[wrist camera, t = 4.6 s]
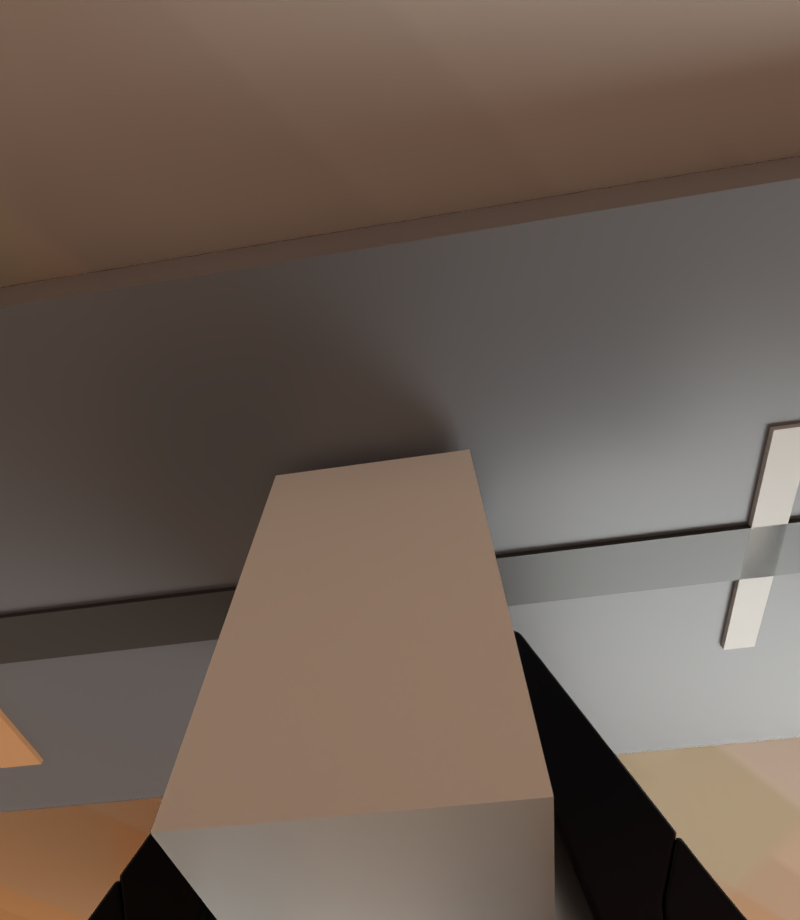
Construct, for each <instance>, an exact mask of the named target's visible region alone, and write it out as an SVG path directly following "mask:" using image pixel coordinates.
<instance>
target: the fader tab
mask: <svg viewBox="0 0 800 920" xmlns="http://www.w3.org/2000/svg"><path fill="white" fill-rule="evenodd" d="M151 834H152V836H153V837H154V838H155V840H156V841H157V842H158V844H159V845H160V846H161V847H162V849H163V850H164V851H165V853H166V854H167V855H168V857H169V858H170V859H171V860H172V862H173V863H174V864H175V866H176V867H177V868H178V870H179V871H180V872H181V873H182V875H183V876H184V877H185V879H186V880H187V881H188V883H189V884H190V885H191V886H192V888H193V889H194V890H195V892H196V893H197V894H198V896H199V897H200V898H201V900H202V901H203V902H204V903H205V905H206V906H207V907H208V909H209V910H210V911H211V913H212V914H213V915H214V916H215V918H216V919H217V920H555V873H554V796H553V791H552V787H551V783H550V779H549V775H548V771H547V767H546V763H545V758H544V754H543V750H542V746H541V742H540V738H539V734H538V730H537V725H536V721H535V717H534V713H533V709H532V705H531V701H530V697H529V692H528V688H527V684H526V680H525V676H524V672H523V668H522V664H521V660H520V655H519V651H518V647H517V643H516V639H515V635H514V631H513V627H512V622H511V618H510V614H509V610H508V606H507V602H506V598H505V594H504V589H503V585H502V581H501V577H500V573H499V569H498V565H497V561H496V556H495V552H494V548H493V544H492V540H491V536H490V532H489V528H488V523H487V519H486V515H485V511H484V507H483V503H482V499H481V495H480V490H479V486H478V482H477V478H476V474H475V470H474V466H473V462H472V457H471V453H470V449H469V450H462V451H454V452H447V453H439V454H432V455H424V456H417V457H410V458H402V459H395V460H387V461H380V462H372V463H365V464H357V465H350V466H343V467H335V468H328V469H320V470H313V471H305V472H298V473H291V474H283V475H276V476H275V479H274V482H273V485H272V488H271V491H270V493H269V496H268V499H267V502H266V505H265V508H264V511H263V513H262V516H261V519H260V522H259V525H258V528H257V531H256V533H255V536H254V539H253V542H252V545H251V548H250V551H249V553H248V556H247V559H246V562H245V565H244V568H243V570H242V573H241V576H240V579H239V582H238V585H237V588H236V590H235V593H234V596H233V599H232V602H231V605H230V608H229V610H228V613H227V616H226V619H225V622H224V625H223V628H222V630H221V633H220V636H219V639H218V642H217V645H216V647H215V650H214V653H213V656H212V659H211V662H210V665H209V667H208V670H207V673H206V676H205V679H204V682H203V685H202V687H201V690H200V693H199V696H198V699H197V702H196V704H195V707H194V710H193V713H192V716H191V719H190V722H189V724H188V727H187V730H186V733H185V736H184V739H183V742H182V744H181V747H180V750H179V753H178V756H177V759H176V762H175V764H174V767H173V770H172V773H171V776H170V779H169V781H168V784H167V787H166V790H165V793H164V796H163V799H162V801H161V804H160V807H159V810H158V813H157V816H156V819H155V821H154V824H153V827H152V830H151Z"/></svg>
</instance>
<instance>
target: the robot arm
mask: <svg viewBox="0 0 800 920" xmlns="http://www.w3.org/2000/svg"><path fill="white" fill-rule="evenodd" d="M514 635H515V639H516V643H517V647H518V651H519V655H520V660H521V664H522V668H523V672H524V676H525V680H526V684H527V688H528V692H529V697H530V701H531V705H532V709H533V713H534V717H535V721H536V725H537V730H538V734H539V738H540V742H541V746H542V750H543V754H544V758H545V763H546V767H547V771H548V775H549V779H550V783H551V787H552V791H553V796H554V873H555V920H747V919H746V918H745V917H744V916H743V914H742V913H741V912H740V911H739V909H738V908H737V907H736V906H735V905H734V903H733V902H732V901H731V900H730V898H729V897H728V896H727V895H726V894H725V892H724V891H723V890H722V889H721V888H720V886H719V885H718V884H717V883H716V881H715V880H714V879H713V878H712V877H711V875H710V874H709V873H708V872H707V870H706V869H705V868H704V867H703V865H702V864H701V863H700V862H699V860H698V859H697V858H696V856H695V855H694V854H693V853H692V851H691V850H690V849H689V848H688V846H687V845H686V844H685V842H684V841H683V840H682V839H681V838H676V832H675V830H674V829H673V828H672V826H671V825H670V824H669V822H668V821H667V820H666V819H665V817H664V816H663V815H662V813H661V812H660V811H659V810H658V808H657V807H656V806H655V805H654V803H653V802H652V801H651V799H650V798H649V797H648V796H647V794H646V793H645V792H644V790H643V789H642V788H641V787H640V785H639V784H638V783H637V782H636V780H635V779H634V778H633V776H632V775H631V774H630V773H629V771H628V770H627V769H626V767H625V766H624V765H623V764H622V762H621V761H620V760H619V759H618V757H617V756H616V755H615V753H614V752H613V751H612V750H611V748H610V747H609V746H608V744H607V743H606V742H605V741H604V739H603V738H602V737H601V736H600V734H599V733H598V732H597V730H596V729H595V728H594V727H593V725H592V724H591V723H590V721H589V720H588V719H587V718H586V716H585V715H584V714H583V713H582V711H581V710H580V709H579V707H578V706H577V705H576V704H575V702H574V701H573V700H572V698H571V697H570V696H569V695H568V693H567V692H566V691H565V690H564V688H563V687H562V686H561V684H560V683H559V682H558V681H557V679H556V678H555V677H554V675H553V674H552V673H551V672H550V670H549V669H548V668H547V667H546V665H545V664H544V663H543V661H542V660H541V659H540V658H539V656H538V655H537V654H536V652H535V651H534V650H533V649H532V647H531V646H530V645H529V644H528V642H527V641H526V640H525V638H524V637H523V636H522V635H521V634H520V633H519V632H517V631H514ZM675 839H676V840H675ZM88 920H217V919H216V918H215V916H214V915H213V914H212V913H211V911H210V910H209V909H208V907H207V906H206V905H205V903H204V902H203V901H202V900H201V898H200V897H199V896H198V894H197V893H196V892H195V890H194V889H193V888H192V886H191V885H190V884H189V883H188V881H187V880H186V879H185V877H184V876H183V875H182V873H181V872H180V871H179V870H178V868H177V867H176V866H175V864H174V863H173V862H172V860H171V859H170V858H169V857H168V855H167V854H166V853H165V851H164V850H163V849H162V847H161V846H160V845H159V844H158V842H157V841H156V840H155V838H154V837H153V836H152V834H151V833H150V835H149V836H148V837H147V839H146V840H145V841H144V843H143V844H142V846H141V847H140V848H139V850H138V851H137V853H136V854H135V855H134V857H133V858H132V860H131V861H130V862H129V864H128V865H127V867H126V868H125V869H124V871H123V872H122V874H121V875H120V881H117V882H115V883H114V884H113V886H112V887H111V888H110V890H109V891H108V893H107V894H106V895H105V897H104V898H103V900H102V901H101V902H100V904H99V905H98V907H97V908H96V909H95V911H94V912H93V914H92V915H91V916H90V918H89V919H88Z"/></svg>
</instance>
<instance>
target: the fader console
mask: <svg viewBox="0 0 800 920" xmlns="http://www.w3.org/2000/svg"><path fill="white" fill-rule="evenodd" d="M469 449H470V453H471V457H472V462H473V466H474V470H475V474H476V478H477V482H478V486H479V490H480V495H481V499H482V503H483V507H484V511H485V515H486V519H487V523H488V528H489V532H490V536H491V540H492V544H493V548H494V552H495V556H496V561H497V565H498V569H499V573H500V577H501V581H502V585H503V589H504V594H505V598H506V602H507V606H508V610H509V614H510V618H511V622H512V627H513V631H517V632H519V633H520V634H521V635H522V636H523V637H524V638H525V640H526V641H527V642H528V644H529V645H530V646H531V647H532V649H533V650H534V651H535V652H536V654H537V655H538V656H539V658H540V659H541V660H542V661H543V663H544V664H545V665H546V667H547V668H548V669H549V670H550V672H551V673H552V674H553V675H554V677H555V678H556V679H557V681H558V682H559V683H560V684H561V686H562V687H563V688H564V690H565V691H566V692H567V693H568V695H569V696H570V697H571V698H572V700H573V701H574V702H575V704H576V705H577V706H578V707H579V709H580V710H581V711H582V713H583V714H584V715H585V716H586V718H587V719H588V720H589V721H590V723H591V724H592V725H593V727H594V728H595V729H596V730H597V732H598V733H599V734H600V736H601V737H602V738H603V739H604V741H605V742H606V743H607V744H608V746H609V747H610V748H611V750H612V751H613V752H614V753H615V755H616V754H627V753H637V752H648V751H658V750H669V749H680V748H690V747H701V746H712V745H722V744H733V743H743V742H754V741H765V740H775V739H786V738H797V737H800V156H797V157H791V158H785V159H779V160H773V161H767V162H761V163H755V164H749V165H743V166H736V167H730V168H724V169H718V170H712V171H706V172H700V173H694V174H688V175H682V176H676V177H670V178H664V179H658V180H651V181H645V182H639V183H633V184H627V185H621V186H615V187H609V188H603V189H597V190H591V191H585V192H579V193H573V194H567V195H560V196H554V197H548V198H542V199H536V200H530V201H524V202H518V203H512V204H506V205H500V206H494V207H488V208H482V209H476V210H469V211H463V212H457V213H451V214H445V215H439V216H433V217H427V218H421V219H415V220H409V221H403V222H397V223H391V224H385V225H378V226H372V227H366V228H360V229H354V230H348V231H342V232H336V233H330V234H324V235H318V236H312V237H306V238H300V239H294V240H287V241H281V242H275V243H269V244H263V245H257V246H251V247H245V248H239V249H233V250H227V251H221V252H215V253H209V254H202V255H196V256H190V257H184V258H178V259H172V260H166V261H160V262H154V263H148V264H142V265H136V266H130V267H124V268H118V269H111V270H105V271H99V272H93V273H87V274H81V275H75V276H69V277H63V278H57V279H51V280H45V281H39V282H33V283H27V284H20V285H14V286H8V287H2V288H0V812H10V811H21V810H32V809H42V808H53V807H64V806H74V805H85V804H95V803H106V802H117V801H127V800H138V799H149V798H159V797H163V796H164V793H165V790H166V787H167V784H168V781H169V779H170V776H171V773H172V770H173V767H174V764H175V762H176V759H177V756H178V753H179V750H180V747H181V744H182V742H183V739H184V736H185V733H186V730H187V727H188V724H189V722H190V719H191V716H192V713H193V710H194V707H195V704H196V702H197V699H198V696H199V693H200V690H201V687H202V685H203V682H204V679H205V676H206V673H207V670H208V667H209V665H210V662H211V659H212V656H213V653H214V650H215V647H216V645H217V642H218V639H219V636H220V633H221V630H222V628H223V625H224V622H225V619H226V616H227V613H228V610H229V608H230V605H231V602H232V599H233V596H234V593H235V590H236V588H237V585H238V582H239V579H240V576H241V573H242V570H243V568H244V565H245V562H246V559H247V556H248V553H249V551H250V548H251V545H252V542H253V539H254V536H255V533H256V531H257V528H258V525H259V522H260V519H261V516H262V513H263V511H264V508H265V505H266V502H267V499H268V496H269V493H270V491H271V488H272V485H273V482H274V479H275V476H276V475H283V474H291V473H298V472H305V471H313V470H320V469H328V468H335V467H343V466H350V465H357V464H365V463H372V462H380V461H387V460H395V459H402V458H410V457H417V456H424V455H432V454H439V453H447V452H454V451H462V450H469Z"/></svg>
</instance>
